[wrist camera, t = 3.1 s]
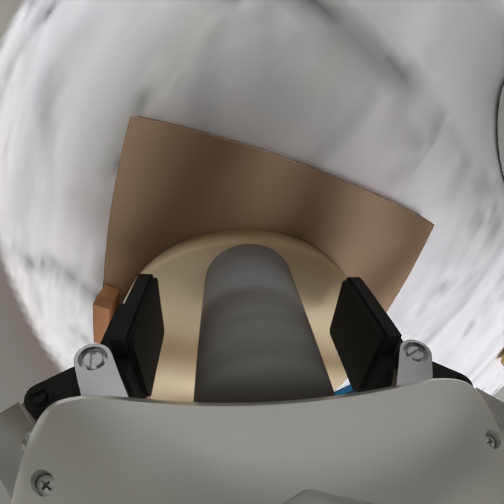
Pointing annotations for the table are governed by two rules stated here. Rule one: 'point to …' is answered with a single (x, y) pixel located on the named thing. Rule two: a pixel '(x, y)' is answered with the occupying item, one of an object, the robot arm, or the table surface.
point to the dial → (246, 319)
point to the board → (244, 210)
